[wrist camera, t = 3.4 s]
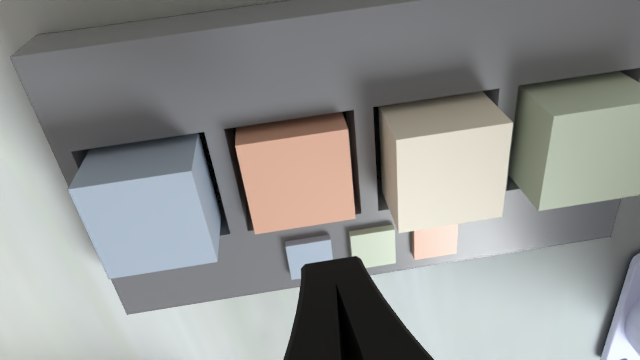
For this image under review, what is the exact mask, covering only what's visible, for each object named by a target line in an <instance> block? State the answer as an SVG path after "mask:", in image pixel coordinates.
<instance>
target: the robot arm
mask: <svg viewBox="0 0 640 360" xmlns="http://www.w3.org/2000/svg"><path fill="white" fill-rule="evenodd" d="M284 360H434V359H433V358H432V357H431V356H430V355H429V353H428V352H427V351H426V350H425V349H424V348H423V347H422V345H421V344H420V343H419V342H418V341H417V340H416V339H415V337H414V336H413V335H412V334H411V333H410V331H409V330H408V329H407V328H406V326H405V325H404V324H403V323H402V321H401V320H400V319H399V317H398V316H397V315H396V313H395V312H394V311H393V309H392V308H391V307H390V305H389V304H388V303H387V301H386V300H385V298H384V297H383V295H382V294H381V292H380V291H379V289H378V288H377V286H376V285H375V283H374V282H373V280H372V278H371V277H370V275H369V273H368V272H367V270H366V268H365V266H364V264H363V262H362V260H361V259H360V258H359V257H357V256H352V257H346V258H340V259H333V260H327V261H321V262H315V263H308V264H305V265H304V266H303V267H302V268H301V284H300V293H299V299H298V305H297V310H296V315H295V319H294V323H293V328H292V332H291V336H290V340H289V343H288V347H287V350H286V353H285V356H284ZM600 360H640V253H639V254H637V255H635V256H634V257H633V258H632V260H631V263H630V266H629V269H628V272H627V276H626V279H625V282H624V285H623V288H622V292H621V295H620V298H619V301H618V304H617V308H616V311H615V314H614V317H613V321H612V324H611V327H610V330H609V333H608V337H607V340H606V343H605V346H604V349H603V353H602V356H601V359H600Z"/></svg>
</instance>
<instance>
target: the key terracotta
mask: <svg viewBox="0 0 640 360" xmlns="http://www.w3.org/2000/svg"><path fill="white" fill-rule="evenodd" d="M235 147H236V152H237V156H238V161H239V165H240V170H241V174H242V179H243V183H244V187H245V192H246V196H247V201H248V205H249V210H250V214H251V219H252V223H253V227H254V232H255V234H261V233H268V232H274V231H281V230H287V229H293V228H300V227H306V226H313V225H319V224H325V223H332V222H338V221H345V220H351V219H356V218H355V206H354V194H353V181H352V169H351V157H350V145H349V133H348V127H347V124H346V122H345V119H344V116H343V113H342V112H336V113H329V114H322V115H315V116H309V117H302V118H295V119H288V120H282V121H275V122H268V123H261V124H254V125H248V126H241V127H236V139H235Z"/></svg>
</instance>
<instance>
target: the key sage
mask: <svg viewBox="0 0 640 360" xmlns="http://www.w3.org/2000/svg"><path fill="white" fill-rule="evenodd" d="M508 174H509V176H510V177H511V178H512V179H513V181H514V182H515V183H516V184H517V186H518V187H519V188H520V189H521V190H522V192H523V193H524V194H525V195H526V197H527V198H528V199H529V200H530V201H531V203H532V204H533V205H534V206H535V208H536V209H537V210H538V211H542V210H549V209H555V208H561V207H568V206H574V205H580V204H587V203H593V202H599V201H606V200H612V199H618V198H625V197H631V196H637V195H640V83H639V82H637V81H636V80H634V79H632V78H630V77H629V76H627V75H625V74H624V73H622V72H620V71H614V72H607V73H601V74H594V75H587V76H580V77H574V78H567V79H560V80H553V81H546V82H540V83H533V84H526V85H519V86H518V94H517V103H516V111H515V120H514V128H513V137H512V145H511V154H510V162H509V171H508Z"/></svg>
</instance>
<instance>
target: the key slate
mask: <svg viewBox="0 0 640 360" xmlns="http://www.w3.org/2000/svg"><path fill="white" fill-rule="evenodd" d="M68 191H69V193H70V196H71V198H72V200H73V202H74V204H75V206H76V209H77V211H78V213H79V215H80V217H81V220H82V222H83V224H84V226H85V228H86V231H87V233H88V235H89V237H90V239H91V241H92V244H93V246H94V248H95V250H96V252H97V255H98V257H99V259H100V261H101V263H102V265H103V268H104V270H105V272H106V274H107V276H108V279H113V278H119V277H125V276H132V275H138V274H144V273H151V272H157V271H163V270H170V269H176V268H182V267H189V266H195V265H201V264H208V263H214V262H218V249H219V236H220V223H221V214H220V211H219V207H218V203H217V199H216V196H215V192H214V188H213V184H212V181H211V177H210V173H209V169H208V166H207V162H206V158H205V154H204V151H203V147H202V143H201V139H200V135H199V133H193V134H186V135H180V136H173V137H166V138H159V139H153V140H146V141H139V142H132V143H125V144H119V145H112V146H105V147H98V148H91V149H89V151H88V153H87V155H86V157H85V159H84V160H83V162H82V164H81V166H80V168H79V170H78V172H77V173H76V175H75V177H74V179H73V181H72V183H71V184H70V186H69V188H68Z"/></svg>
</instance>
